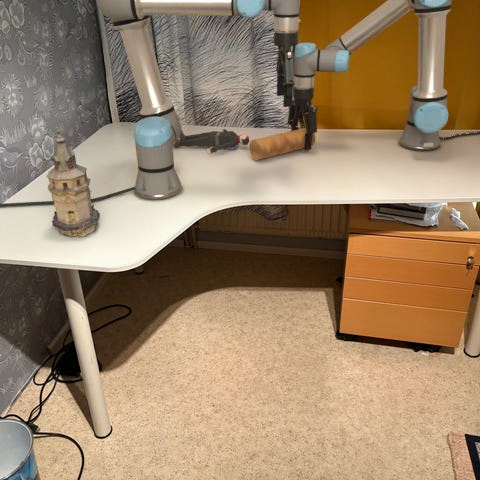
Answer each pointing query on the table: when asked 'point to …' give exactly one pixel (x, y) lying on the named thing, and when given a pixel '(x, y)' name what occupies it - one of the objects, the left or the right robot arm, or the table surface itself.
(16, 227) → the table surface
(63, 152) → the miniature building
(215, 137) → the toy
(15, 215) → the table surface
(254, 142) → the rod
